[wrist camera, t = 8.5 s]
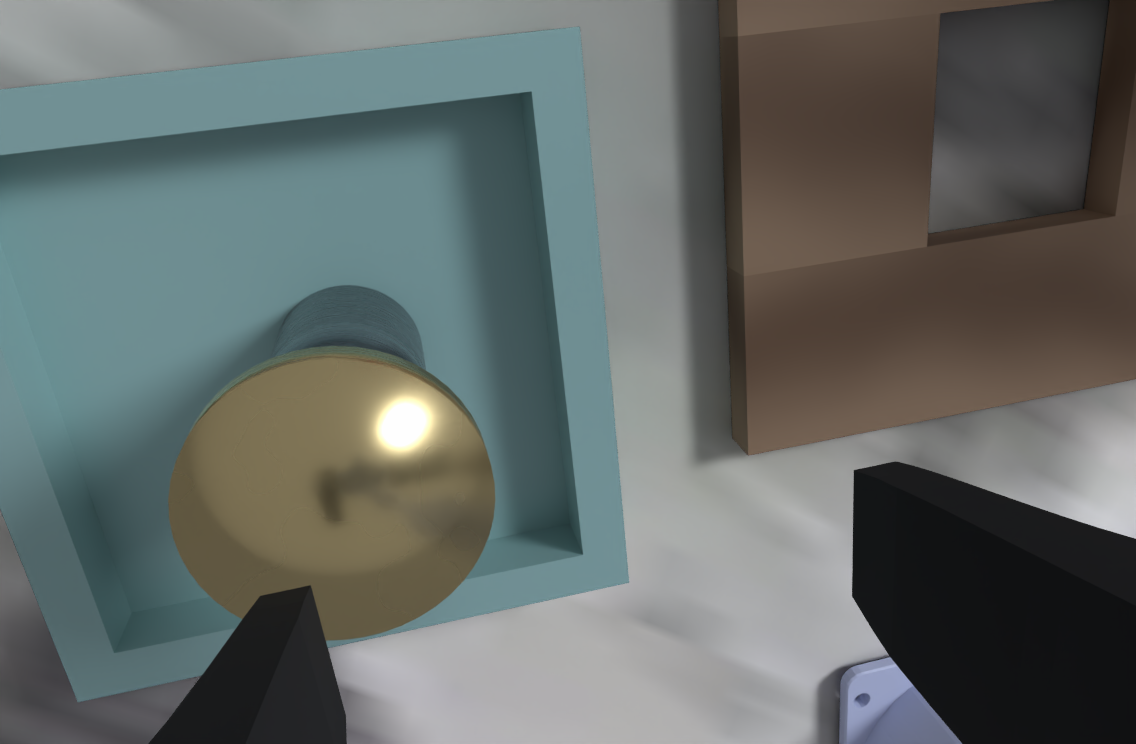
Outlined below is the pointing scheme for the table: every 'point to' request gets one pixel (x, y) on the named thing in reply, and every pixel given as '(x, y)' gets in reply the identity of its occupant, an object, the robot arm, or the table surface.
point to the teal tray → (273, 288)
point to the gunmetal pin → (335, 473)
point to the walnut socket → (901, 233)
